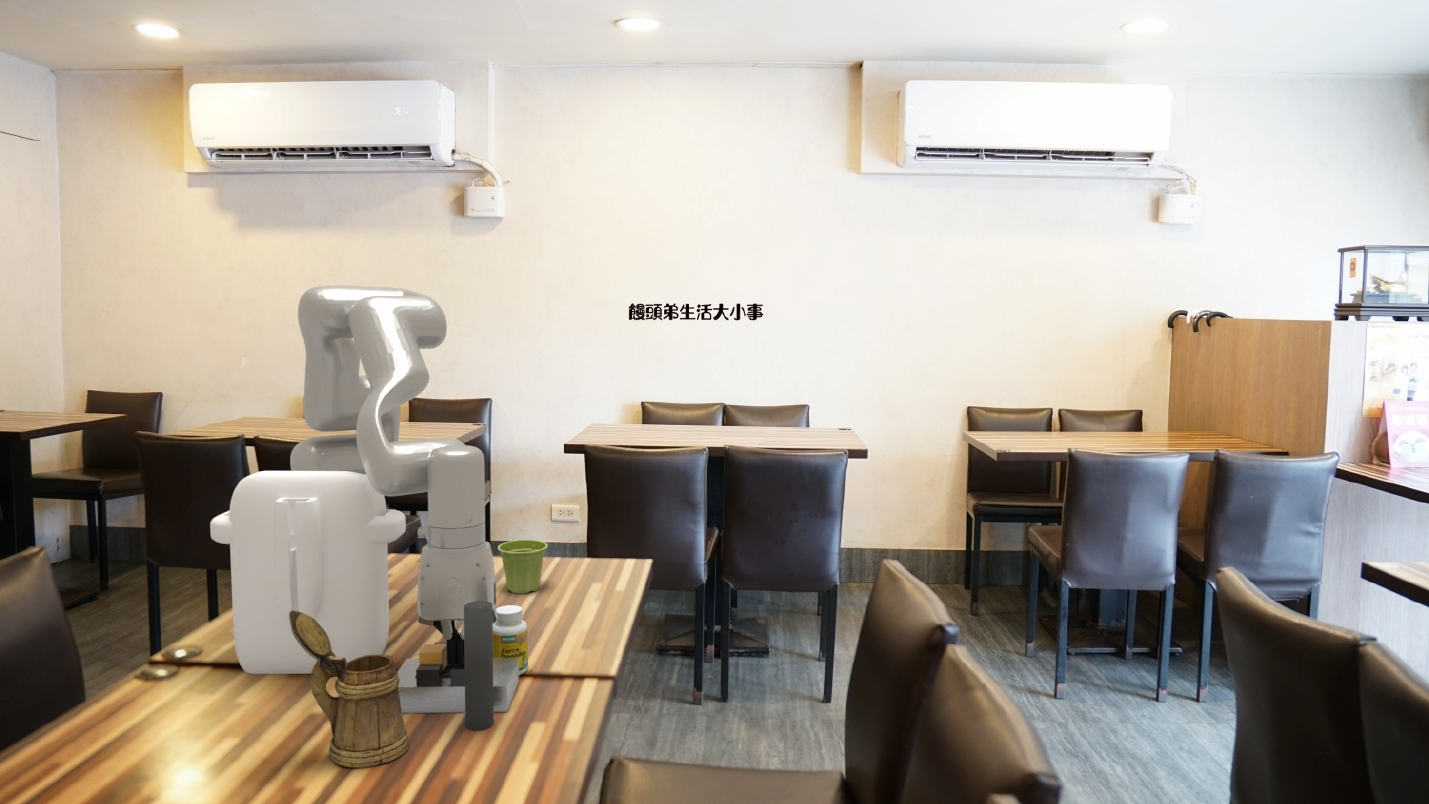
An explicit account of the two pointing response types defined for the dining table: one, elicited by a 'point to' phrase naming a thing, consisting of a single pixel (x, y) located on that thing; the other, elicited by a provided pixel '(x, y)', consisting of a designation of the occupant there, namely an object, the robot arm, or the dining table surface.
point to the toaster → (307, 565)
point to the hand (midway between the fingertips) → (458, 663)
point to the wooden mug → (355, 699)
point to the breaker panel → (451, 685)
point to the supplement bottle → (510, 635)
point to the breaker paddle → (433, 654)
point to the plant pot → (522, 564)
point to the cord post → (478, 665)
